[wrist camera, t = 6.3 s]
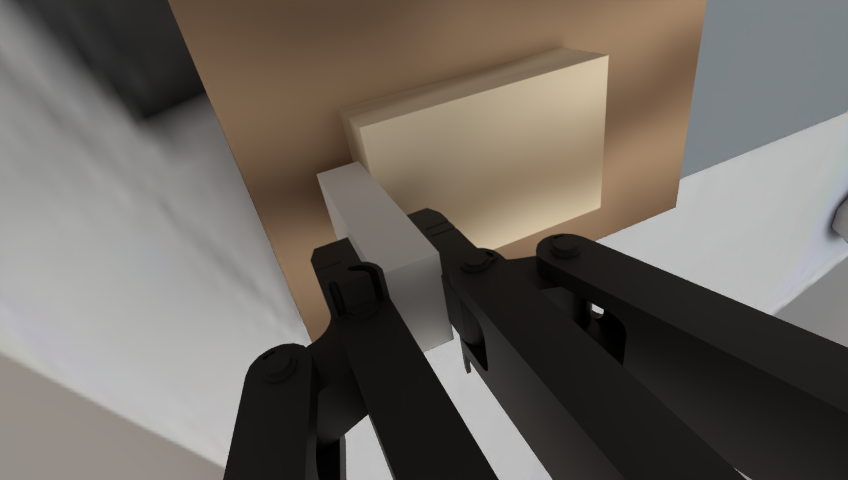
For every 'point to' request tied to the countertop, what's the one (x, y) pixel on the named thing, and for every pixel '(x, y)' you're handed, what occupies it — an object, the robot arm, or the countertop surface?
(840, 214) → the salt shaker
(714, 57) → the slate mat
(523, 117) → the beech block
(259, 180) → the board
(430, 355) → the countertop surface
